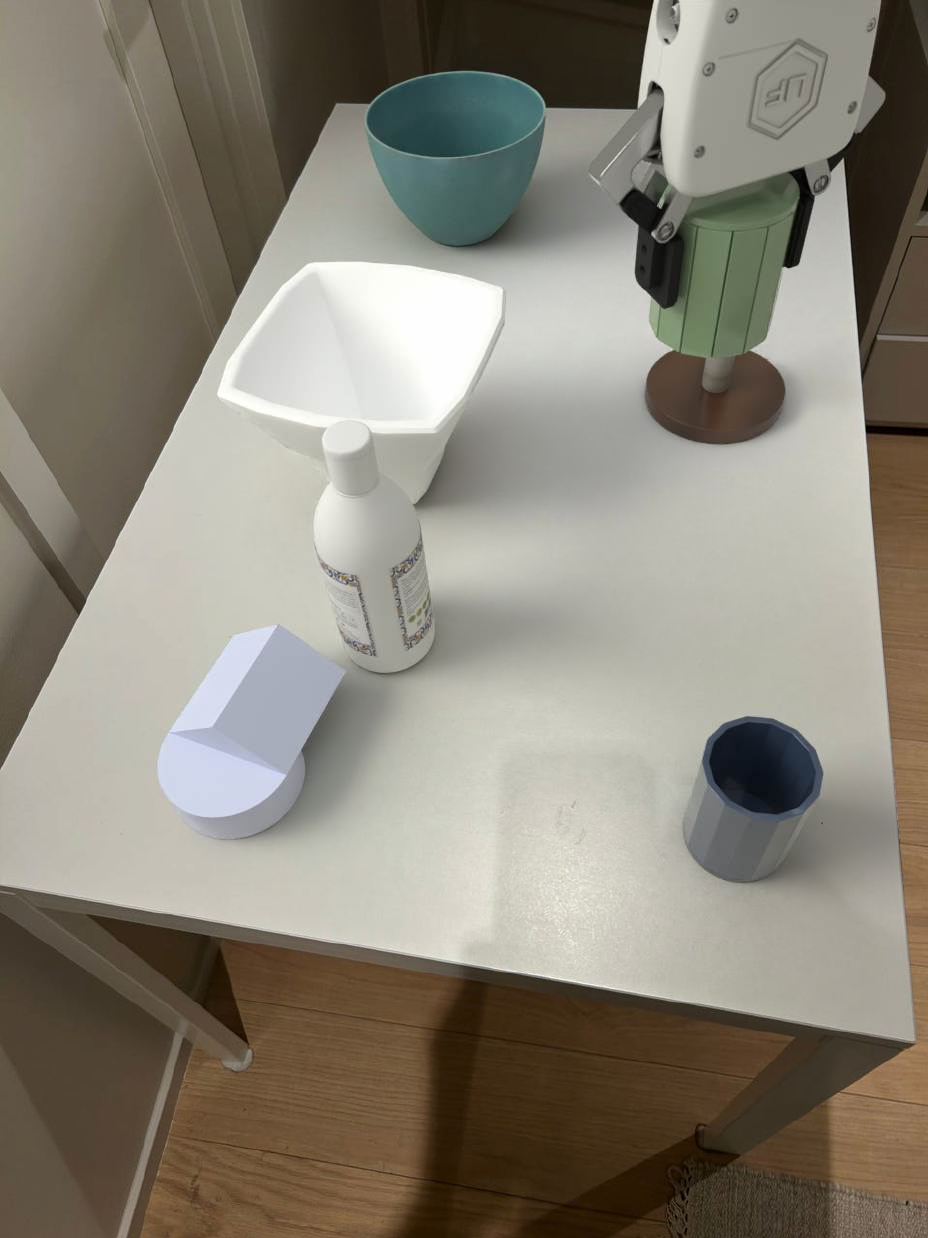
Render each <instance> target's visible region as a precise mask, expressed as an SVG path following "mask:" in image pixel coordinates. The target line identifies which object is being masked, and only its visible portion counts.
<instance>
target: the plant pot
mask: <svg viewBox="0 0 928 1238" xmlns="http://www.w3.org/2000/svg"><path fill="white" fill-rule="evenodd" d="M546 115H547V106H546V102H545V100H544V98H543V97H542V95H541V94H540V93H539V92H538V90H536V89H535V88H533V86H531V85H529V84H527V83H526V82H523V81H521V80H519V79H517V78H515V77H511V76H508V75H504V74H499V73H495V72H488V71H487V72H486V71H476V70H456V71H444V72H436V73H433V74H432V73H430V74H426V75H421V76H417V77H413V78H410V79H408V80H404V81H401V82H400V83H397V84H395V85H393V86H391V87H389V88H387V89H386V90H384V91H383V92H381V93H380V94H379V95H377V96H376V97H375V98H374V99H373V100H372V101H371V102H370V103H369V105H368V107H367V108H366V110H365V113H364V118H363V119H364V122H363V123H364V128H365V133H366V138H367V142H368V145H369V149H370V153H371V156H372V158H373V161H374V164H375V166H376V169H377V172H378V174H379V176H380V178H381V180H382V183H383V184H384V185H383V186H384V187H385V188H386V190H387V192H388V194H389V196H390V198H391V199H392V200H393V202H394V203H395V205H396V206H397V208H399V211H401V213H402V214H403V215H404V216H405V217H406V219H408V220H409V221H410V222H411V224H413V226H415V227H416V228H417V229H418V230H419V231H420V232H421V233H422V234H424V235H425V236H426V237H428V238H429V239H431V240H432V241H434V242H436V243H437V244H438V243H439V244H442V245H445V246H452V247H453V246H454V247H463V246H470V245H476V244H479V243H482V242H484V241H485V240H488V239H489V238H491V237H492V236H494V235H495V234H496V233H497V232H498V231H499V230H500V229H501V227H502V226H503V225H504V224H505V223H506V222H507V221H508V220H509V218H510V217H511V215H512V214H513V213H514V212H515V210H516V208H517V207H518V206H519V204H520V203H521V200H522V199H523V198H524V196H525V194H526V192H527V190H528V187H529V186H530V183H531V180H532V177H533V176H534V173H535V171H536V167H537V164H538V161H539V157H540V153H541V149H542V146H543V145H542V144H543V140H544V135H545V134H544V132H545V127H546V118H547V117H546Z"/></svg>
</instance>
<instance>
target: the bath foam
mask: <svg viewBox="0 0 928 1238" xmlns="http://www.w3.org/2000/svg"><path fill="white" fill-rule="evenodd" d="M322 445H323V450H324V454H325V458H326V462H327V466H328V470H329V474H330V478H331V481H330V483H328V484H327V486H326V488H325V489H324V491H323V492H322V494H321V496H320V498H319V500H318V502H317V505H316V508H315V511H314V515H313V523H312V525H313V526H312V527H313V528H312V530H313V532H312V533H313V543H314V549H315V552H316V557H317V559H318V562H319V567H320V569H321V573H322V576H323V577H322V578H323V580H324V584H325V587H326V590H327V591H326V592H327V594H328V598H329V601H330V605H331V607H332V612H333V615H334V618H335V622H336V626H337V630H338V632H339V634H340V635H339V636H340V638H341V641H342V645H343V648H344V650H345V653H346V654H347V656H348V657H349V658H350V659H351V660H352V662H354V663H355V664H356V665H357V666H358V667H361V668H362V669H364V670H367V671H370V672H374V673H379V674H390V673H398V672H401V671H404V670H406V669H408V668H411V667H413V666H414V665H417V664H418V663H419V662H420V661H421V660H423V658H424V657H426V655H427V654H428V653H429V651H430V649H432V646H433V643H434V640H435V635H436V634H435V633H436V628H435V627H436V626H435V618H434V610H433V603H432V597H431V596H432V595H431V590H430V589H431V588H430V581H429V575H428V569H427V563H426V562H427V561H426V554H425V549H424V541H423V534H422V527H421V522H420V520H419V516H418V514H417V511H416V508H415V506H414V504H412V502H411V500H410V499H409V497H408V496H407V494H406V493H405V492H404V491H403V490H402V489H401V487H400V486H399V485H397V484H396V483H395V482H394V481H393V480H391V479H390V478H388V477H387V476H385V475H384V474H382V473H381V472H379V471H378V465H377V459H376V454H375V448H374V443H373V438H372V433H371V431H370V429H369V428H368V426H367V425H365V424H364V423H362V422H359V421H355V420H344V421H340V422H337V423H335V424H333V425H331V426H330V427H329V428H327V430H326V431H325V432H324V434H323V437H322Z"/></svg>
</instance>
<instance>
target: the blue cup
mask: <svg viewBox="0 0 928 1238" xmlns="http://www.w3.org/2000/svg"><path fill="white" fill-rule="evenodd" d="M823 778H824V769H823V767H822V764H821V761H820V758H819V755H818V752H817V749H816V748H815V747H814V746H813V745H812V744H811V743H810V742H809V740H808V739H807V738H805V737H804V735H802V733H801V732H800V731H799V730H797V729H796V728H794V727H792V726H790V725H787V724H786V723H784V722H782V721H779V720H777V719H775V718H772V717H763V716H762V717H761V716H751V715H747V716H742V717H739V718H736V719H733V720H729V721H726V722H724V723H721V725H720V726H719V727H718V728H717V729H716V730H715V731H714V732H713V733H712V734H710V736H709V737H708V738H707V739H706V743H705V746H704V749H703V753H702V756H701V759H700V763H699V766H698V769H697V772H696V775H695V779H694V782H693V786H692V789H691V793H690V796H689V800H688V802H687V806H686V810H685V813H684V817H683V821H682V833H683V838H684V839H683V840H684V843H685V845H686V847H687V850H688V852H689V853H690V855H691V856H692V858H693V859H694V860H695V862H697V864H698V865H699V866H700V867H701V868H703V869H704V870H705V871H706V872H708V873H709V874H711V875H713V876H715V877H717V878H719V879H722V880H724V881H729V882H732V883H733V882H734V883H752V882H756V881H759V880H762V879H764V878H767V877H768V876H770V875H772V874H773V873H774V872H775V871H776V870H777V869H778V868H779V867H780V865H781V864H782V862H783V861H784V860H785V859H786V858H787V856H788V854H789V852H790V850H791V849H792V847H793V845H794V843H795V841H796V840H797V837H799V834H800V832H801V831H802V828H803V827H804V825H805V823H806V821H807V819H808V817H809V815H810V814H811V812H812V810H813V809H814V807H815V805H816V803H817V801H818V800H819V797H820V795H821V789H822V786H823V785H822V784H823Z"/></svg>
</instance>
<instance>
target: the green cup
mask: <svg viewBox="0 0 928 1238" xmlns="http://www.w3.org/2000/svg"><path fill="white" fill-rule="evenodd" d="M671 188H672V185H670V184H669V183H668V185H667V187H666V189H665V191H664V193H663V195H662V197H661V199H660V206H659V208H660V209H661V207H662V205H663V203H664V201H665V199H666V197H667V196H668V194H669V192H670V190H671ZM799 194H800V192H799V186H798V183H797V181H796V180H795V179H794V177H793V176H792V175H791V174H790V173H788V172H786V173H783V174H780V175H777V176H773V177H770V178H767V179H763V180H760V181H757V182H754V183H750V184H747V185H743V186H740V187H737V188H733V189H730V190H727V191H723V192H719V193H716V194H712V195H708V196H704V197H695V198H694V200H693V201H692V203H691V205H690V207H689V209H688V211H687V213H686V215H685V216H684V218H683V220H682V222H681V224H680V226H679V228H678V229H677V231H676V233H677V234H678V235H679V236H681V237H682V239H683V240H684V252H683V260H682V267H681V275H680V283H679V290H678V298H677V302H676V303H675V305H674V306H673V307H669V308H666V309H663V308H662V307H661V306H660V305H659V304H658V303H657V302H656V301H655V300H654V299H653V298H652V297H651V296H650V301H649V303H650V304H649V312H648V313H649V314H648V322H649V325H650V327H651V329H652V332H653V334H654V336H655V338H656V339H657V340H658V341H659V342H661V343H663V344H664V345H666V346H667V347H669V348H671V349H672V350H675V351H677V352H680V351H681V353H682V354H687V355H693V356H698V357H704V358H709V359H710V358H711V356H712V358H713V359H715V358H721V357H728V356H735V355H742V353H744V354H745V353H746V352H748V351H749V350H750V351H752V350H753V349H754V348H756V347H757V346H759V345H761V344H762V343H763V342H765V341H766V340H767V337H768V334H769V331H770V328H771V325H772V322H773V317H774V313H775V308H776V304H777V299H778V297H779V296H778V295H779V291H780V286H781V282H782V277H783V274H784V269H785V267H784V265H785V261H786V256H787V252H788V247H789V243H790V238H791V234H792V230H793V225H794V221H795V216H796V212H797V207H798V203H799V199H800V197H799Z"/></svg>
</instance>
